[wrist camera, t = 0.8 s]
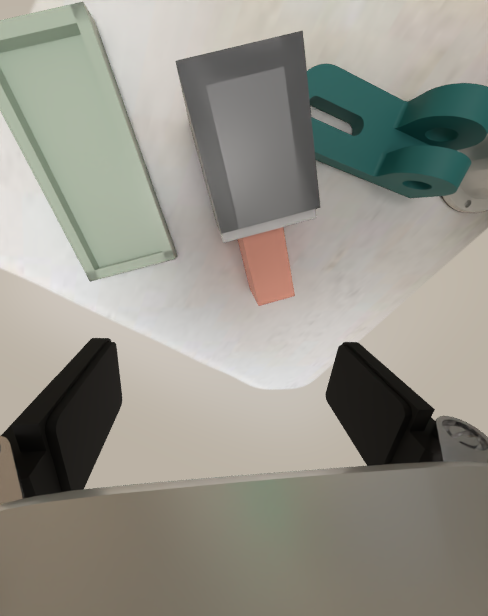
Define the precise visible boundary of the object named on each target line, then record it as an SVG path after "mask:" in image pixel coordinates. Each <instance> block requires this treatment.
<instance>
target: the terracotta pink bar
mask: <svg viewBox="0 0 488 616" xmlns="http://www.w3.org/2000/svg"><path fill="white" fill-rule="evenodd" d="M238 243H239V247H240V251H241V255H242V259H243V263H244V267H245V271H246V275H247V279H248V283H249V287H250V290H251V292H252V294H253V296H254V298H255V300H256V302H257V304H258V305H259V306H261V305H264V304H268V303H271V302H275V301H278V300H282V299H285V298H289V297H292V296H295V294H294V288H293V282H292V276H291V270H290V264H289V259H288V253H287V247H286V241H285V235H284V229H283V227H281V228H278V229H274V230H270V231H266V232H263V233H259V234H255V235H251V236H248V237H244V238H240V239H238Z"/></svg>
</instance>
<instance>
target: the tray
mask: <svg viewBox="0 0 488 616" xmlns="http://www.w3.org/2000/svg"><path fill="white" fill-rule="evenodd" d="M0 111H1V113H2V115H3V117H4V119H5V121H6V122H7V124H8V126H9V128H10V130H11V132H12V134H13V136H14V138H15V140H16V141H17V143H18V145H19V147H20V149H21V151H22V153H23V155H24V157H25V159H26V161H27V162H28V164H29V166H30V168H31V170H32V172H33V174H34V176H35V178H36V180H37V181H38V183H39V185H40V187H41V189H42V191H43V193H44V195H45V197H46V199H47V201H48V202H49V204H50V206H51V208H52V210H53V212H54V214H55V216H56V218H57V220H58V222H59V223H60V225H61V227H62V229H63V231H64V233H65V235H66V237H67V239H68V241H69V242H70V244H71V246H72V248H73V250H74V252H75V254H76V256H77V258H78V260H79V262H80V263H81V265H82V267H83V269H84V271H85V273H86V275H87V277H88V279H89V281H94V280H98V279H101V278H105V277H109V276H113V275H116V274H120V273H124V272H128V271H131V270H135V269H139V268H143V267H146V266H150V265H154V264H158V263H161V262H165V261H169V260H173V259H175V258H176V257H177V253H176V251H175V248H174V245H173V242H172V239H171V236H170V234H169V231H168V228H167V225H166V222H165V219H164V217H163V214H162V211H161V208H160V205H159V202H158V199H157V197H156V194H155V191H154V188H153V185H152V182H151V180H150V177H149V174H148V171H147V168H146V165H145V163H144V160H143V157H142V154H141V151H140V148H139V146H138V143H137V140H136V137H135V134H134V131H133V129H132V126H131V123H130V120H129V117H128V114H127V111H126V109H125V106H124V103H123V100H122V97H121V94H120V92H119V89H118V86H117V83H116V80H115V77H114V75H113V72H112V69H111V66H110V63H109V60H108V58H107V55H106V52H105V49H104V46H103V43H102V41H101V38H100V35H99V32H98V29H97V26H96V23H95V21H94V19H93V18H92V16H91V14H90V13H89V11H88V9H87V8H86V6H85V4H84V3H83V2H80V3H75V4H71V5H66V6H62V7H57V8H53V9H49V10H44V11H40V12H35V13H31V14H26V15H22V16H18V17H14V18H9V19H4V20H0Z"/></svg>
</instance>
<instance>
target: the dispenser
mask: <svg viewBox="0 0 488 616" xmlns="http://www.w3.org/2000/svg"><path fill="white" fill-rule="evenodd" d="M176 65H177V70H178V74H179V79H180V83H181V88H182V92H183V97H184V101H185V106H186V110H187V115H188V119H189V123H190V127H191V131H192V134H193V138H194V142H195V146H196V149H197V153H198V157H199V160H200V164H201V168H202V171H203V175H204V179H205V183H206V186H207V190H208V194H209V197H210V201H211V205H212V208H213V212H214V216H215V220H216V223H217V227H218V228H219V230H220V233H221V237H222V240H223V242H224V243H225V242H229V241H233V240H236V239H240V238H244V237H248V236H251V235H255V234H259V233H263V232H266V231H270V230H274V229H278V228H281V227H285V226H289V225H293V224H296V223H300V222H304V221H308V220H311V219H315V218H316V209H317V208H320V200H319V190H318V180H317V170H316V160H315V150H314V140H313V130H312V120H311V110H310V100H309V90H308V80H307V70H306V60H305V50H304V40H303V31H300V32H295V33H291V34H287V35H283V36H279V37H274V38H270V39H266V40H262V41H258V42H253V43H249V44H245V45H241V46H236V47H232V48H228V49H224V50H220V51H215V52H211V53H207V54H203V55H199V56H194V57H190V58H186V59H182V60H178V61H176Z"/></svg>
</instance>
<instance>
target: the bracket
mask: <svg viewBox="0 0 488 616" xmlns="http://www.w3.org/2000/svg"><path fill="white" fill-rule="evenodd" d="M307 80H308V90H309V100H310V106H313V107H315V108H317V109H319V110H321V111H323V112H326V113H328V114H330V115H332V116H334V117H336V118H339V119H341V120H343V121H345V122H347V123H349V124H350V125H351V126H352V135H350V134H348V133H346V132H343V131H341V130H339V129H337V128H334V127H332V126H330V125H328V124H326V123H323V122H321V121H319V120H317V119H314V118H312V117H311V120H312V130H313V140H314V150H315V160H317V161H320V162H322V163H325V164H327V165H330V166H332V167H334V168H337V169H339V170H342V171H344V172H347V173H349V174H352V175H354V176H357V177H359V178H362V179H364V180H367V181H369V182H371V183H374V184H376V185H379V186H381V187H384V188H386V189H389V190H391V191H394V192H396V193H399V194H401V195H404V196H406V197H408V198H420V197H434V196H446V195H451V194H454V193H455V192H456V191H457V190H458V188H459V186H460V184H461V182H462V180H463V178H464V177H465V175H466V173H467V171H468V169H469V167H470V165H471V160H470V158H469V157H467V156H466V155H465V154H463V153H461V152H458V151H457V150H461V149H465V148H469V147H472V146H475V145H477V144H479V143H480V142H482V141H483V140H484V139H485V138H486V136H487V134H488V87H487V86H483V85H478V84H470V83H458V84H449V85H444V86H440V87H437V88H434V89H431V90H429V91H427V92H425V93H423V94H422V95H420V96H418V97H416V98H414V99H413V100H411V101H403V100H401V99H399V98H397V97H395V96H393V95H391V94H390V93H388V92H386V91H384V90H382V89H380V88H378V87H376V86H374V85H372V84H370V83H368V82H366V81H365V80H363V79H361V78H359V77H357V76H355V75H353V74H351V73H349V72H347V71H345V70H343V69H341V68H340V67H337V66H335V65H332V64H320V65H317V66H314V67H312V68H311V69H309V70H308V71H307Z"/></svg>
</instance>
